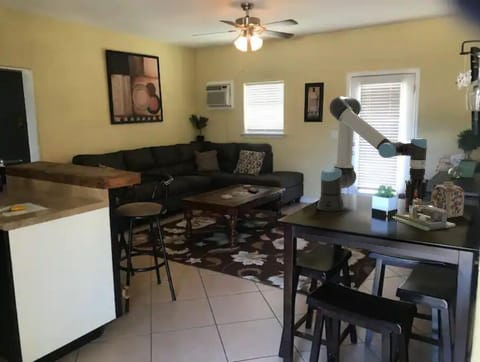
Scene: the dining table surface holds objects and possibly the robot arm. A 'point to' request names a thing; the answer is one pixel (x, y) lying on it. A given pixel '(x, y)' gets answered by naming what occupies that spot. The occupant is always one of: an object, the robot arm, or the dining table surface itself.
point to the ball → (422, 218)
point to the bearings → (441, 216)
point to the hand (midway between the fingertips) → (414, 211)
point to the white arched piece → (420, 206)
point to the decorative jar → (448, 199)
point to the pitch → (418, 221)
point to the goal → (434, 224)
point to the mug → (408, 199)
